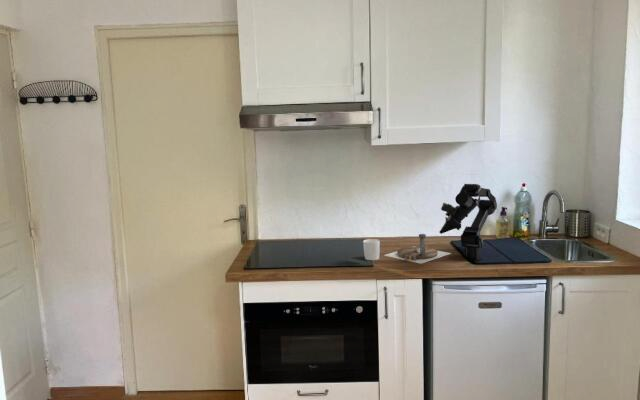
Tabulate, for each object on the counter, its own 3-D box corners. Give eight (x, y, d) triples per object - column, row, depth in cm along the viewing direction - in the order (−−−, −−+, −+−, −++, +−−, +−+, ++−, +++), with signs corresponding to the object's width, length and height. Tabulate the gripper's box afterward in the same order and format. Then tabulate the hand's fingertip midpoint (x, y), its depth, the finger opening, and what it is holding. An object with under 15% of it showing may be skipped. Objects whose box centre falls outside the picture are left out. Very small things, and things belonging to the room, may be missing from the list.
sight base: (451, 256, 242) (451, 248, 242) (421, 266, 228) (420, 258, 227) (414, 249, 260) (414, 242, 259) (383, 258, 245) (383, 250, 245)
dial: (445, 253, 242) (445, 230, 240) (420, 261, 230) (419, 237, 228) (414, 247, 257) (414, 225, 255) (389, 254, 245) (388, 232, 243)
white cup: (381, 259, 244) (380, 238, 242) (379, 263, 236) (378, 242, 235) (364, 259, 245) (364, 239, 244) (362, 263, 238) (362, 242, 236)
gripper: (449, 194, 238) (426, 217, 242) (453, 200, 220) (427, 225, 223) (467, 210, 238) (443, 233, 241) (472, 217, 220) (446, 242, 223)
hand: (440, 233), depth 232 cm, fingers closed
